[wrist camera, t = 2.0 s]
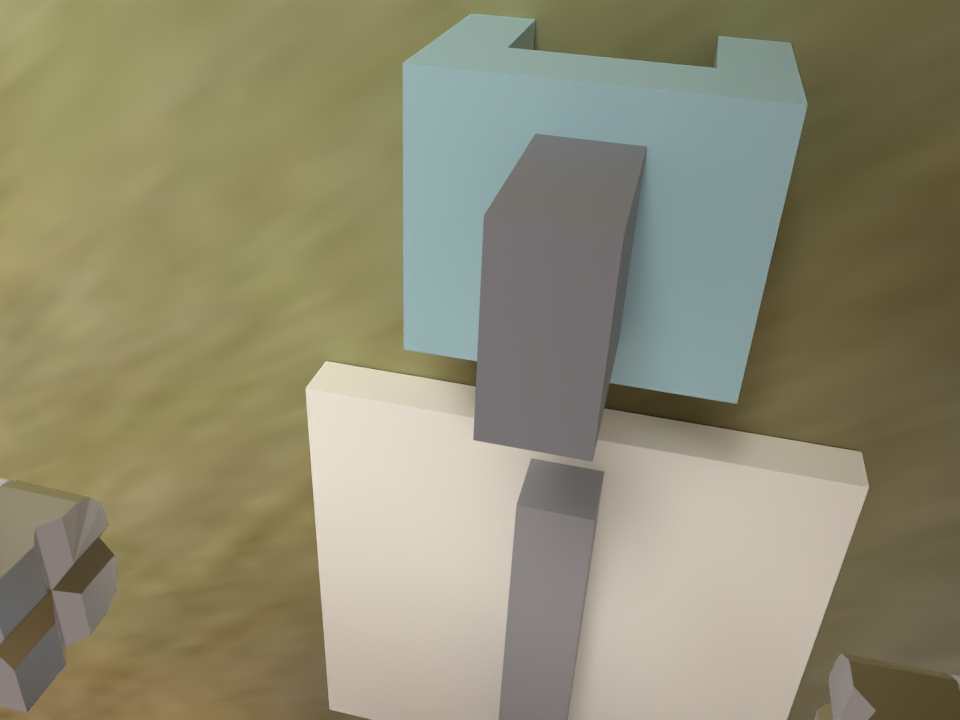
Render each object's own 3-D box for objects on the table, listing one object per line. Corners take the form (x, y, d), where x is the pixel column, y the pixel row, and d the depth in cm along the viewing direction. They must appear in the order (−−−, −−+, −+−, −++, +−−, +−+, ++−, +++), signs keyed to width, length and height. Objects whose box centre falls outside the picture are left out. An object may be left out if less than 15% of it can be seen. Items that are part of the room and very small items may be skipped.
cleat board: (326, 361, 26) (275, 429, 23) (861, 451, 23) (880, 541, 20) (344, 676, 33) (307, 757, 30) (752, 772, 31) (755, 872, 28)
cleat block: (470, 13, 20) (315, 126, 13) (790, 42, 19) (830, 187, 11) (462, 255, 23) (334, 460, 16) (735, 294, 22) (737, 537, 14)
